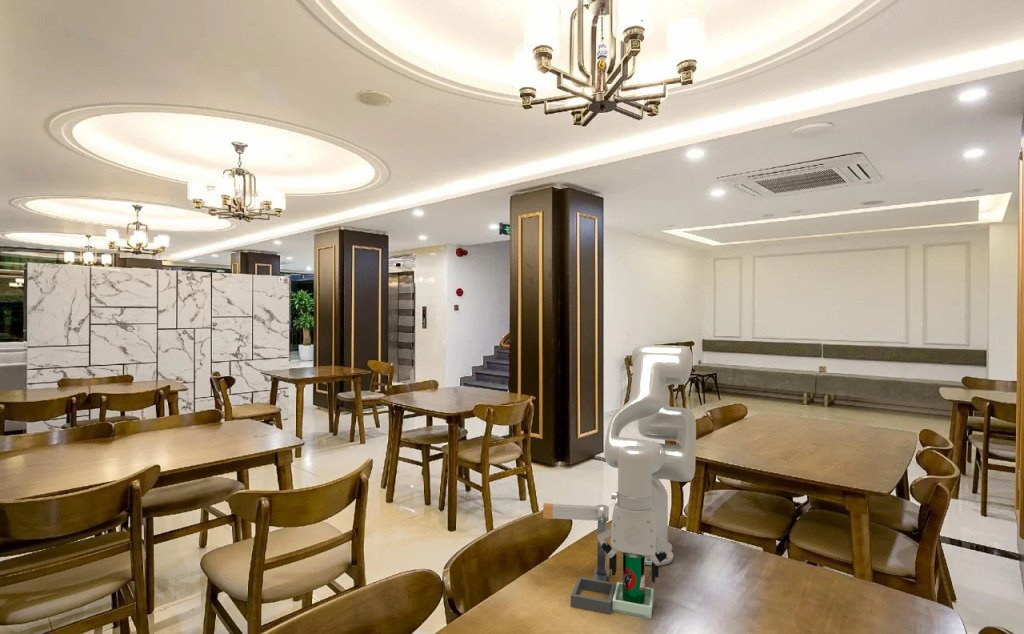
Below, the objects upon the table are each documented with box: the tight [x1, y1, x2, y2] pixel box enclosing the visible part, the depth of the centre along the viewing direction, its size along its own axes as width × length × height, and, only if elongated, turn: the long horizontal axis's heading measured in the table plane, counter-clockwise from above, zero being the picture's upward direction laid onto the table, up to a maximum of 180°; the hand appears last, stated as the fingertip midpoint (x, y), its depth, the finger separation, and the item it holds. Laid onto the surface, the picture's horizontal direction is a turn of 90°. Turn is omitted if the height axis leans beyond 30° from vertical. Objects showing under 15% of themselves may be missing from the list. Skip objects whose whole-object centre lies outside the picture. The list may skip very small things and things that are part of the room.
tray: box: [611, 581, 655, 620], centre depth 116 cm, size 8×8×2 cm
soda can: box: [622, 552, 646, 604], centre depth 116 cm, size 5×5×12 cm
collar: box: [570, 576, 617, 615], centre depth 118 cm, size 9×9×2 cm
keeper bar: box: [542, 502, 610, 523], centre depth 130 cm, size 17×3×3 cm, turn 84°
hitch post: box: [592, 521, 611, 582], centre depth 127 cm, size 9×4×14 cm, turn 161°
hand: (633, 575), depth 116 cm, fingers open, 8 cm apart
